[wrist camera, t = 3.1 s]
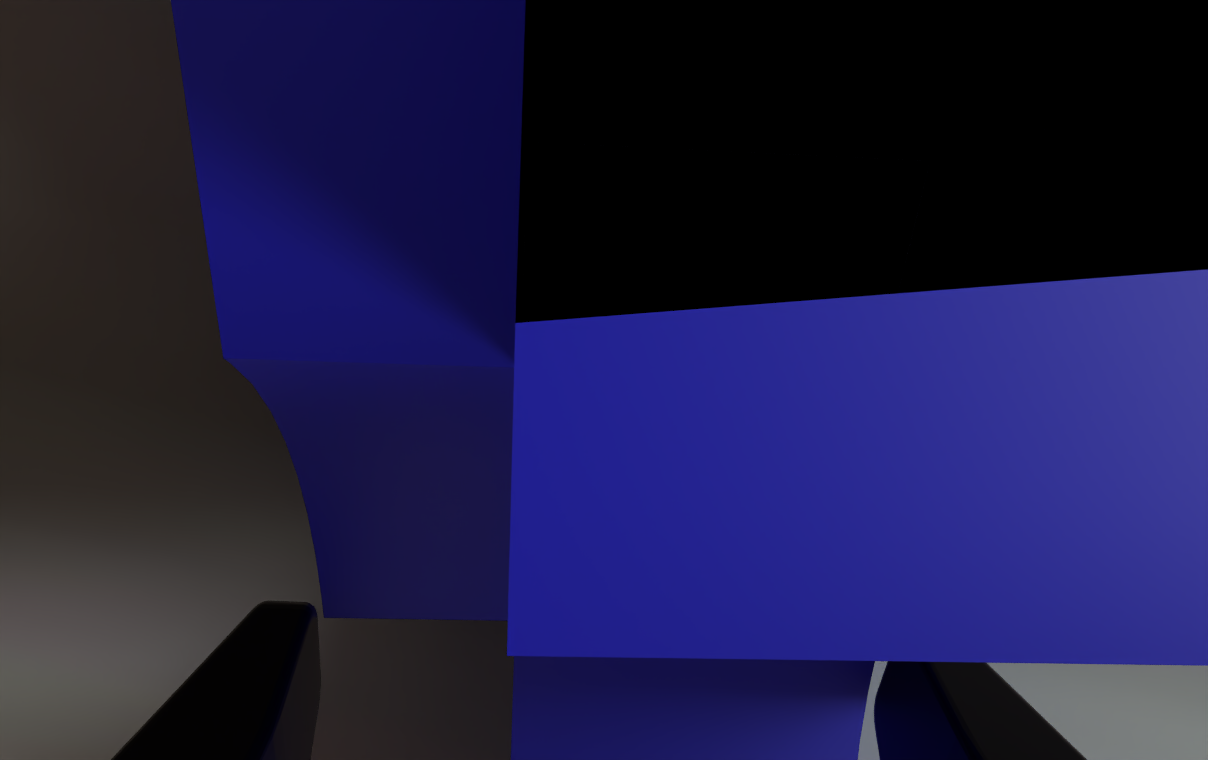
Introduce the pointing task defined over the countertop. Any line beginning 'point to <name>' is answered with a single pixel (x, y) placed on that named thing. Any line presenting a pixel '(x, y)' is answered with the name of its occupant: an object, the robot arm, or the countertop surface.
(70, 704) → the countertop surface
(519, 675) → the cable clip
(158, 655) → the countertop surface
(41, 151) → the countertop surface
